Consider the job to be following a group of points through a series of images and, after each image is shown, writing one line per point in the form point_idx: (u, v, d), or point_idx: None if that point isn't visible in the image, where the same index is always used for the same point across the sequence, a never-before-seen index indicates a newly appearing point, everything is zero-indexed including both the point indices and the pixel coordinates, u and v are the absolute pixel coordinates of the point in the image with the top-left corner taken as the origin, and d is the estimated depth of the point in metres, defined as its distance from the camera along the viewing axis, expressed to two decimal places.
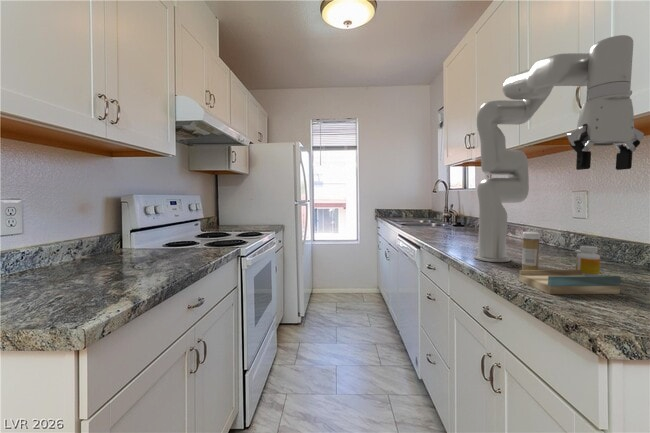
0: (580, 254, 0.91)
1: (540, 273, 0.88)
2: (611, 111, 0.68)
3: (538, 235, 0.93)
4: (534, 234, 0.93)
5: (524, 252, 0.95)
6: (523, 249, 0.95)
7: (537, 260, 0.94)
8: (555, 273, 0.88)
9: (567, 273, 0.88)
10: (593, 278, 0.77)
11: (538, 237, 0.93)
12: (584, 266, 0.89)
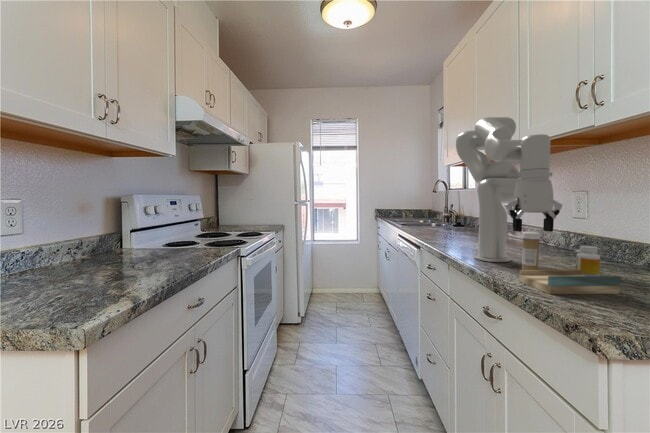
0: (580, 254, 0.91)
1: (540, 273, 0.88)
2: (535, 189, 0.91)
3: (538, 235, 0.93)
4: (534, 234, 0.93)
5: (524, 252, 0.95)
6: (523, 249, 0.95)
7: (537, 260, 0.94)
8: (555, 273, 0.88)
9: (567, 273, 0.88)
10: (593, 278, 0.77)
11: (538, 237, 0.93)
12: (584, 266, 0.89)
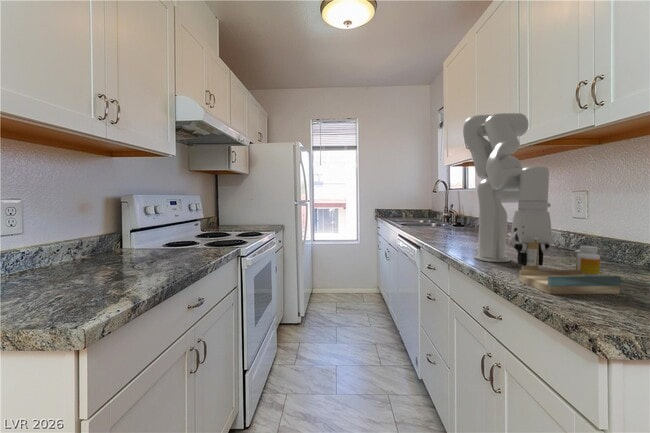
0: (580, 254, 0.91)
1: (540, 273, 0.88)
2: (533, 221, 0.92)
3: None
4: None
5: None
6: None
7: (537, 260, 0.94)
8: (555, 273, 0.88)
9: (567, 273, 0.88)
10: (593, 278, 0.77)
11: None
12: (584, 266, 0.89)
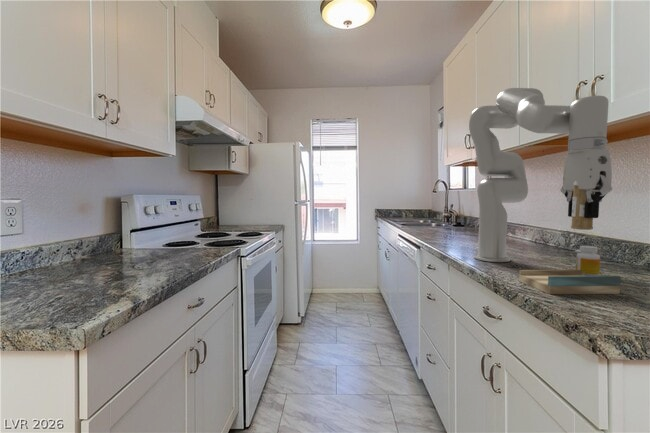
0: (580, 254, 0.91)
1: (540, 273, 0.88)
2: (571, 164, 0.80)
3: None
4: None
5: None
6: None
7: (578, 210, 0.79)
8: (555, 273, 0.88)
9: (567, 273, 0.88)
10: (593, 278, 0.77)
11: None
12: (584, 266, 0.89)
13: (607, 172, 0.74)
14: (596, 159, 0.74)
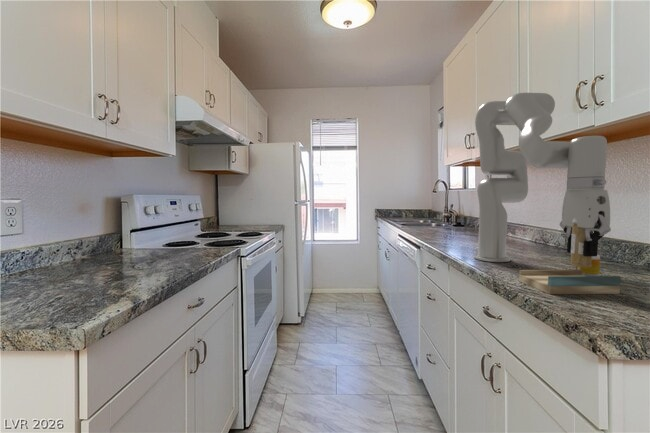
0: None
1: (540, 273, 0.88)
2: (570, 201, 0.81)
3: None
4: None
5: None
6: None
7: (577, 248, 0.79)
8: (555, 273, 0.88)
9: (567, 273, 0.88)
10: (593, 278, 0.77)
11: None
12: None
13: (606, 212, 0.74)
14: (595, 199, 0.75)
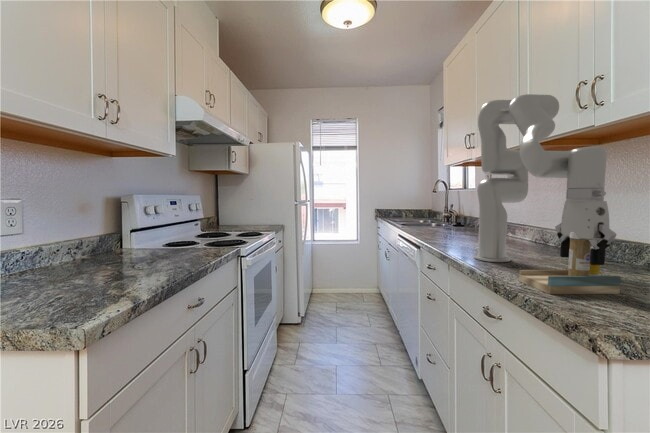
0: None
1: (540, 273, 0.88)
2: (570, 211, 0.81)
3: (575, 234, 0.80)
4: (571, 232, 0.81)
5: None
6: None
7: (575, 263, 0.80)
8: (555, 273, 0.88)
9: (567, 273, 0.88)
10: (593, 278, 0.77)
11: (575, 236, 0.80)
12: None
13: (605, 223, 0.75)
14: (594, 210, 0.75)
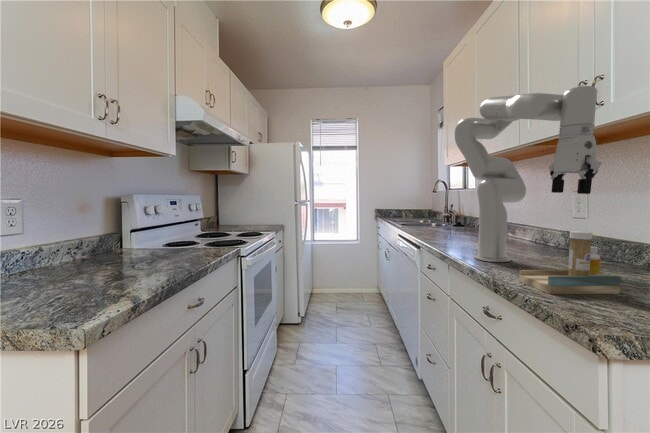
0: None
1: (540, 273, 0.88)
2: (561, 149, 0.88)
3: (575, 234, 0.80)
4: (571, 232, 0.81)
5: None
6: None
7: (575, 263, 0.80)
8: (555, 273, 0.88)
9: (567, 273, 0.88)
10: (593, 278, 0.77)
11: (575, 236, 0.80)
12: None
13: (592, 156, 0.82)
14: (582, 144, 0.83)
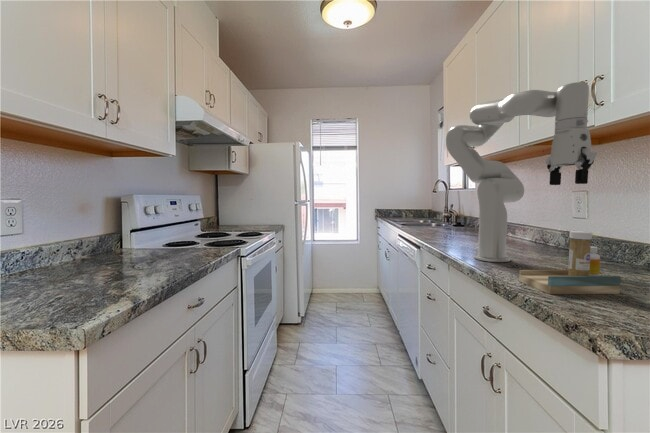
0: None
1: (540, 273, 0.88)
2: (558, 142, 0.92)
3: (575, 234, 0.80)
4: (571, 232, 0.81)
5: None
6: None
7: (575, 263, 0.80)
8: (555, 273, 0.88)
9: (567, 273, 0.88)
10: (593, 278, 0.77)
11: (575, 236, 0.80)
12: None
13: (587, 147, 0.86)
14: (578, 136, 0.87)
